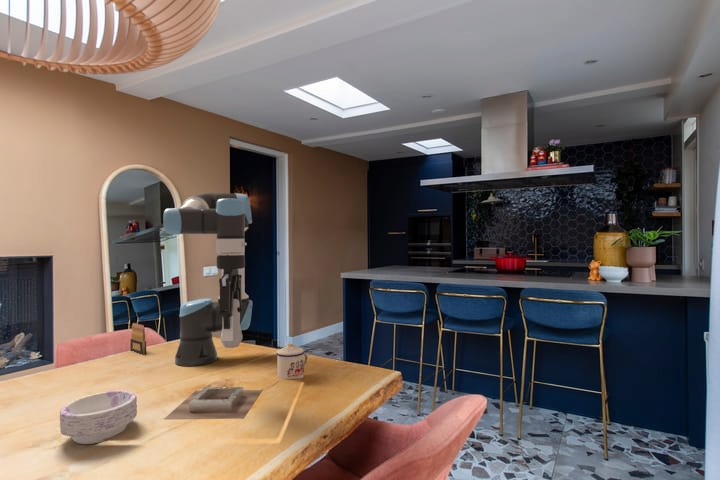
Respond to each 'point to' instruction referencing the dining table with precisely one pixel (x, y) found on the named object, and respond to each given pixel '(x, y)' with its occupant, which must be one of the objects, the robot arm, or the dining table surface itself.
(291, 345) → the teacup with lid
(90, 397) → the paper bowls
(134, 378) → the dining table surface
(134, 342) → the brown flat upright block
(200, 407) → the metal collar
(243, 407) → the walnut board
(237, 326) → the salt shaker
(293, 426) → the dining table surface
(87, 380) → the dining table surface
